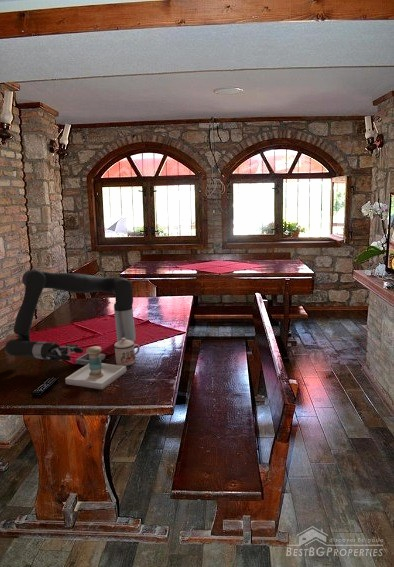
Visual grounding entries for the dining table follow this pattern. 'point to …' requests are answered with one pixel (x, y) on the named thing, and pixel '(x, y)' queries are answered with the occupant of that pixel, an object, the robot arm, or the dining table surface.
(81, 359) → the socket
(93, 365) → the spool
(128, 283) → the robot arm
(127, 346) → the teacup with lid
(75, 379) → the tray
